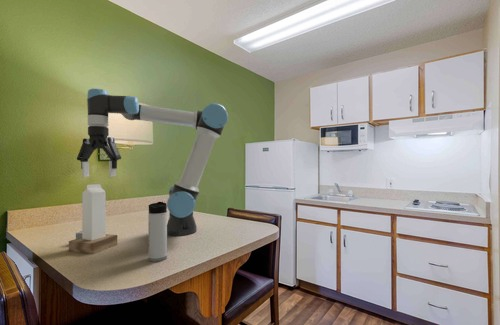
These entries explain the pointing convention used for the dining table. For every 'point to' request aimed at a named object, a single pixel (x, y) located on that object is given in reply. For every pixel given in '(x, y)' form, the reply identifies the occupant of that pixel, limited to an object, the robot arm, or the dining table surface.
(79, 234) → the grey block
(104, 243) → the stand
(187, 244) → the dining table surface
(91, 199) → the milk
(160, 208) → the travel mug
